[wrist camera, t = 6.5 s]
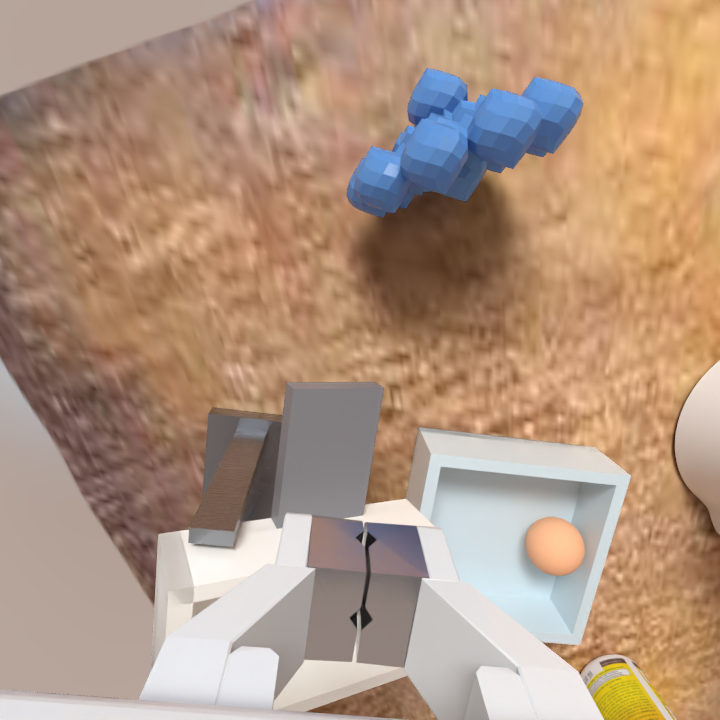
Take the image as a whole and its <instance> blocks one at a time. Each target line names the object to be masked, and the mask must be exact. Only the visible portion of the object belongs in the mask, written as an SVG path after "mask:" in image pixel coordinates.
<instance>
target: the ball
mask: <svg viewBox="0 0 720 720" xmlns="http://www.w3.org/2000/svg"><path fill="white" fill-rule="evenodd" d="M525 546H526V551H527V554H528V556H529V558H530V560H531V561H532V563H533V564H534V565H535V566H536V567H537V568H539V569H540V570H541V571H543V572H545V573H547V574H550V575H554V576H564V575H568V574H570V573H572V572H574V571H575V570H576V569H578V567H579V566H580V565H581V563H582V561H583V559H584V555H585V546H584V541H583V539H582V536H581V534H580V533H579V531H578V530H577V529H576V528H575V527H574V526H573V525H572V524H571V523H569V522H568V521H566V520H564V519H561V518H558V517H545V518H541V519H539V520H537V521H536V522H534V523H533V524H532V525H531V527H530V528H529V530H528V532H527V534H526V539H525Z"/></svg>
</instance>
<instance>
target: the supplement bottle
mask: <svg viewBox="0 0 720 720" xmlns="http://www.w3.org/2000/svg"><path fill="white" fill-rule="evenodd" d="M580 676H581V678H582V680H583V681H584V683H585V685H586V687H587V689H588V691H589V693H590V694H591V696H592V698H593V700H594V702H595V704H596V706H597V707H598V709H599V711H600V713H601V715H602V717H603V719H604V720H677V719H676V718H675V716H674V715H673V713H672V712H671V711H670V709H669V708H668V706H667V705H666V704H665V702H664V701H663V700H662V698H661V697H660V695H659V694H658V693H657V691H656V690H655V688H654V687H653V686H652V684H651V683H650V681H649V680H648V679H647V678H646V676H645V675H644V673H643V672H642V671H641V669H640V668H639V667H638V665H637V664H636V663H635V662H634V661H632V660H631V659H629V658H628V657H625V656H622V655H617V654H609V655H604V656H600V657H598V658H596V659H594V660H592V661H591V662H590V663H588V664H587V665H586V666H585V668H584V669H583V670H582V672H581V674H580Z"/></svg>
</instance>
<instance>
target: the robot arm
mask: <svg viewBox="0 0 720 720" xmlns="http://www.w3.org/2000/svg"><path fill="white" fill-rule="evenodd" d="M675 456H676V462H677V466H678V469H679V472H680V474H681V476H682V478H683V480H684V482H685V484H686V485H687V486H688V488H689V489H690V490H691V491H692V493H693V494H694V495H695V496H697V497H698V498H699V499H700V500H701V501H702V502H703V503H704V504H705V506H706V507H707V508H708V510H709V514H710V517H711V520H712V523H713V526H714V528H715V530H716V532H717V533H718V534H719V535H720V361H718V362H717V363H716V364H715V365H714V366H713V367H712V368H710V369H709V371H708V372H707V373H706V374H705V375H704V376H703V377H702V378H701V379H700V381H699V382H698V383H697V384H696V386H695V387H694V389H693V390H692V392H691V393H690V395H689V397H688V399H687V401H686V403H685V404H684V407H683V409H682V411H681V414H680V417H679V421H678V424H677V429H676V435H675ZM311 522H312V524H311ZM355 641H356V663H365V664H374V665H383V666H392V667H401V668H404V671H405V672H406V674H407V675H408V677H409V678H410V680H411V681H412V683H413V684H414V686H415V687H416V688H417V690H418V691H419V693H420V694H421V696H422V697H423V699H424V700H425V701H426V703H427V704H428V706H429V707H430V709H431V710H432V712H433V713H434V714H435V716H436V717H437V719H438V720H604V719H603V717H602V715H601V713H600V711H599V709H598V707H597V706H596V704H595V702H594V700H593V698H592V696H591V694H590V693H589V691H588V689H587V687H586V685H585V683H584V681H583V680H582V678H581V676H580V674H579V672H578V671H577V670H575V669H574V668H573V667H572V666H570V665H569V664H568V663H567V662H565V661H564V660H563V659H562V658H561V657H559V656H558V655H557V654H556V653H554V652H553V651H552V650H551V649H549V648H548V647H547V646H546V645H544V644H543V643H542V642H541V641H540V640H538V639H537V638H536V637H535V636H533V635H532V634H531V633H530V632H528V631H527V630H526V629H525V628H523V627H522V626H521V625H520V624H519V623H517V622H516V621H515V620H514V619H512V618H511V617H510V616H509V615H507V614H506V613H505V612H504V611H503V610H501V609H500V608H499V607H498V606H496V605H495V604H494V603H493V602H491V601H490V600H489V599H488V598H486V597H485V596H484V595H483V594H482V593H480V592H479V591H478V590H477V589H475V588H474V587H473V586H472V585H470V584H469V583H468V582H460V579H459V576H458V573H457V570H456V568H455V565H454V562H453V559H452V556H451V553H450V550H449V547H448V545H447V542H446V539H445V536H444V533H443V530H442V529H441V528H440V527H429V526H412V525H399V524H385V523H372V522H365V524H364V528H363V522H362V521H359V520H351V519H342V518H334V517H326V516H318V515H313V517H312V516H311V514H301V513H290V512H287V513H286V515H285V517H284V522H283V527H282V532H281V537H280V542H279V547H278V551H277V556H276V561H275V564H266V565H265V566H263V567H262V568H261V569H259V570H258V571H257V572H255V573H254V574H252V575H251V576H250V577H248V578H247V579H246V580H244V581H243V582H241V583H240V584H239V585H237V586H236V587H235V588H233V589H232V590H230V591H229V592H228V593H226V594H225V595H224V596H222V597H221V598H219V599H218V600H217V601H215V602H214V603H213V604H211V605H210V606H208V607H207V608H206V609H204V610H203V611H202V612H200V613H199V614H197V615H196V616H195V617H193V618H192V619H191V620H189V621H188V622H186V623H185V624H184V625H182V626H181V627H180V628H178V629H177V630H175V631H174V632H173V633H171V634H170V635H169V636H167V637H166V639H165V641H164V644H163V646H162V648H161V650H160V653H159V655H158V657H157V659H156V662H155V664H154V666H153V668H152V671H151V673H150V675H149V677H148V680H147V682H146V684H145V686H144V689H143V691H142V693H141V695H140V697H139V700H137V699H124V698H123V699H122V698H110V697H96V696H82V695H69V694H56V693H43V692H30V691H29V692H28V691H15V690H3V689H0V720H407V719H393V718H380V717H366V716H353V715H340V714H326V713H313V712H299V711H286V710H273V705H274V701H275V700H276V698H277V697H278V696H279V694H280V693H281V692H282V690H283V689H284V688H285V686H286V685H287V684H288V682H289V681H290V680H291V678H292V677H293V676H294V675H295V673H296V672H297V671H298V669H299V668H300V667H301V665H302V664H303V663H304V660H320V661H340V662H352V659H353V653H354V647H355Z"/></svg>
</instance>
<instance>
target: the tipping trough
mask: <svg viewBox="0 0 720 720" xmlns="http://www.w3.org/2000/svg"><path fill="white" fill-rule="evenodd" d="M383 391H384V388H383V387H382V386H380V385H379V384H377V383H376V382H286V391H285V399H284V408H283V417H282V426H281V435H280V443H279V452H278V461H277V470H276V478H275V487H274V496H273V505H272V514H271V518H268V519H261V520H254V521H247V522H240V526H239V529H238V532H237V535H236V538H235V542H234V545H233V547H227V546H216V545H205V544H194V543H188V538H189V530H183V531H176V532H169V533H162V534H158V551H157V570H156V589H155V607H154V627H153V646H152V664H151V671H152V668H153V666H154V664H155V662H156V659H157V657H158V655H159V653H160V650H161V648H162V646H163V644H164V641H165V639H166V637H167V636H169V635H170V634H171V633H173V632H174V631H175V630H177V629H178V628H180V627H181V626H182V625H184V624H185V623H186V622H188V621H189V620H191V619H192V618H193V617H195V616H196V615H197V614H199V613H200V612H202V611H203V610H204V609H206V608H207V607H208V606H210V605H211V604H213V603H214V602H215V601H217V600H218V599H219V598H221V597H222V596H224V595H225V594H226V593H228V592H229V591H230V590H232V589H233V588H235V587H236V586H237V585H239V584H240V583H241V582H243V581H244V580H246V579H247V578H248V577H250V576H251V575H252V574H254V573H255V572H257V571H258V570H259V569H261V568H262V567H263V566H265V565H266V564H275V561H276V556H277V551H278V547H279V542H280V537H281V532H282V527H283V522H284V517H285V515H286V513H287V512H290V513H301V514H311V516H312V517H313V515H318V516H326V517H334V518H342V519H351V520H359V521H362V522H363V528H364V524H365V522H372V523H385V524H399V525H412V526H429V527H435V526H434V525H433V524H432V523H431V522H429V521H428V520H427V519H426V518H425V517H424V516H423V515H422V514H421V513H420V512H419V511H418V510H417V509H416V508H415V507H414V506H413V505H412V504H411V503H410V502H409V501H408V500H407V499H401V500H394V501H387V502H380V503H373V504H366V505H365V501H366V495H367V489H368V483H369V476H370V470H371V464H372V458H373V452H374V446H375V440H376V434H377V428H378V421H379V415H380V409H381V403H382V397H383ZM311 524H312V522H311ZM406 676H408V675H407V674H406V672H405V671H404V668H401V667H392V666H383V665H374V664H365V663H356V641H355V647H354V653H353V659H352V662H340V661H320V660H304V663H303V664H302V665H301V667H300V668H299V669H298V671H297V672H296V673H295V675H294V676H293V677H292V678H291V680H290V681H289V682H288V684H287V685H286V686H285V688H284V689H283V690H282V692H281V693H280V694H279V696H278V697H277V698H276V700H275V701H274V705H273V710H286V711H299V712H306V711H308V710H311V709H314V708H317V707H320V706H323V705H326V704H328V703H331V702H334V701H337V700H340V699H343V698H346V697H348V696H351V695H354V694H357V693H360V692H363V691H366V690H368V689H371V688H374V687H377V686H380V685H383V684H386V683H388V682H391V681H394V680H397V679H400V678H403V677H406Z"/></svg>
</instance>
